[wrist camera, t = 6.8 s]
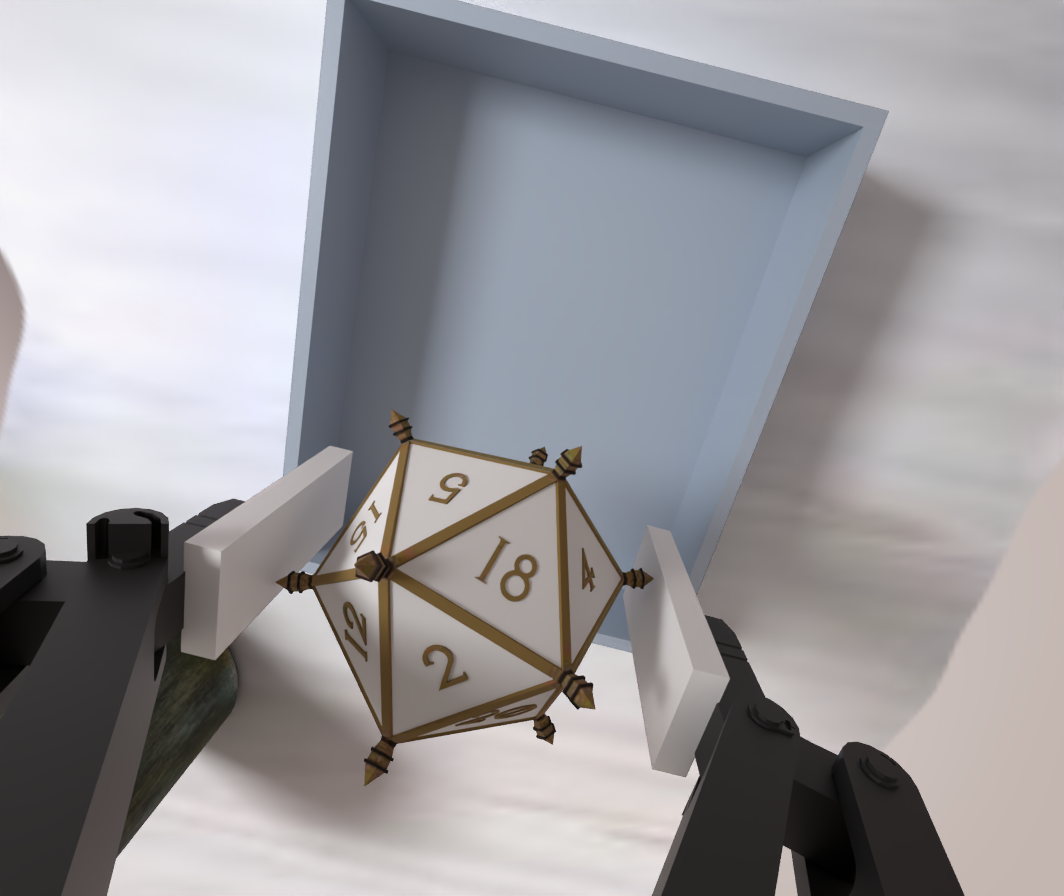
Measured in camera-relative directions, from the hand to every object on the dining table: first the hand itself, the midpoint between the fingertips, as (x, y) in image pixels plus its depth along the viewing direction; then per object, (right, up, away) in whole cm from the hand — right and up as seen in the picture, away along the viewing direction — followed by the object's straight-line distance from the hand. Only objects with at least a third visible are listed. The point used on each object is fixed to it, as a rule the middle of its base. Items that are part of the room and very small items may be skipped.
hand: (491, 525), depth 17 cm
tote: (+2, +7, +9) cm, 11 cm away
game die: (0, 0, +1) cm, 1 cm away
